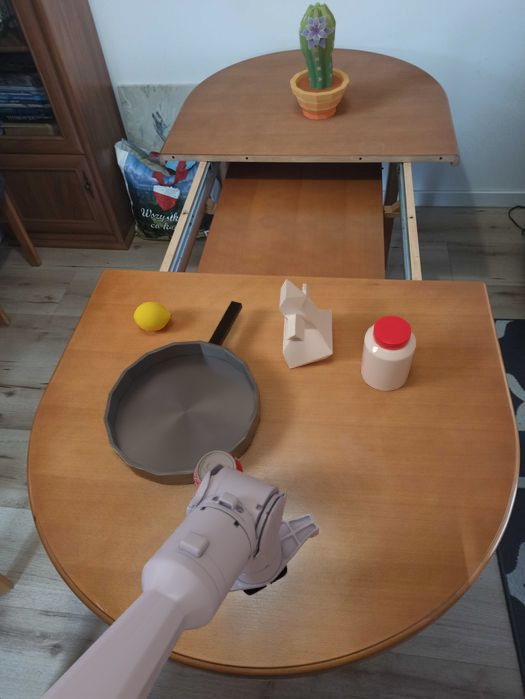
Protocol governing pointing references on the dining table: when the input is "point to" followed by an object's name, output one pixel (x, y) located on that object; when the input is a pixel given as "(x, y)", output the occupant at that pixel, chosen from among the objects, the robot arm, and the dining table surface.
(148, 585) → the robot arm
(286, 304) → the white angular piece
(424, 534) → the dining table surface
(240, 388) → the pan
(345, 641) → the dining table surface
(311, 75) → the potted cactus
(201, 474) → the beverage can
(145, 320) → the lemon
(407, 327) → the pill bottle
